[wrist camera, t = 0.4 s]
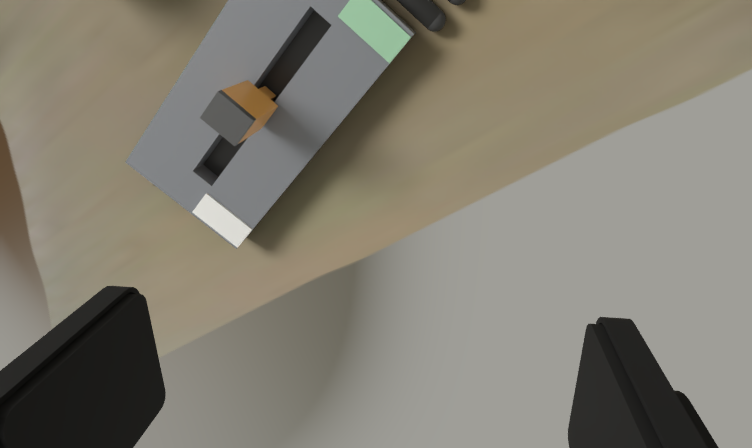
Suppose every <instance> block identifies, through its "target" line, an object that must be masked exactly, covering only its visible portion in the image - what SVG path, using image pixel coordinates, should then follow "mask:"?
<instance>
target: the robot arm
mask: <svg viewBox="0 0 752 448" xmlns="http://www.w3.org/2000/svg"><path fill="white" fill-rule="evenodd" d="M164 401H165V387H164V382H163V378H162V373H161V368H160V363H159V358H158V354H157V349H156V344H155V339H154V335H153V330H152V325H151V320H150V316H149V311H148V306H147V301H146V298H145V297H144V296H143V295H141V294H140V293H139V291H138V290H137V289H136V288H134V287H120V286H107V287H105V288H103V289H102V290H101V291H100V292H98V293H97V294H96V295H95V296H93V297H92V298H91V299H90V300H88V301H87V302H86V303H85V304H83V305H82V306H81V307H80V308H78V309H77V310H76V311H75V312H73V313H72V314H71V315H70V316H68V317H67V318H66V319H65V320H63V321H62V322H61V323H60V324H58V325H57V326H56V327H55V328H53V329H52V330H51V331H50V332H48V333H47V334H46V335H45V336H43V337H42V338H41V339H40V340H38V341H37V342H36V343H35V344H33V345H32V346H31V347H30V348H28V349H27V350H26V351H25V352H23V353H22V354H21V355H20V356H18V357H17V358H16V359H15V360H13V361H12V362H11V363H10V364H8V365H7V366H6V367H5V368H3V369H2V370H1V371H0V448H133V447H134V446H135V444H136V443H137V442H138V440H139V439H140V437H141V436H142V435H143V433H144V432H145V431H146V429H147V428H148V426H149V425H150V424H151V422H152V421H153V420H154V418H155V417H156V415H157V414H158V413H159V411H160V410H161V408H162V407H163V404H164ZM568 441H569V447H570V448H718V446H717V444H716V443H715V442H714V440H713V438H712V436H711V435H710V433H709V432H708V430H707V428H706V427H705V425H704V423H703V422H702V420H701V418H700V417H699V415H698V414H697V412H696V410H695V409H694V407H693V405H692V404H691V402H690V401H689V399H688V398H687V397H686V396H685V395H684V394H683V393H682V392H680V391H674V390H673V388H672V387H671V385H670V383H669V381H668V380H667V378H666V377H665V375H664V373H663V372H662V370H661V368H660V366H659V364H658V363H657V361H656V359H655V358H654V356H653V354H652V353H651V351H650V349H649V348H648V346H647V344H646V342H645V341H644V339H643V338H642V336H641V334H640V332H639V331H638V329H637V327H636V325H635V324H634V322H633V321H632V320H631V319H623V318H606V317H600V318H598V320H597V322H596V324H588V325H587V328H586V332H585V338H584V343H583V349H582V355H581V360H580V366H579V371H578V377H577V383H576V388H575V394H574V400H573V405H572V411H571V416H570V422H569V428H568Z"/></svg>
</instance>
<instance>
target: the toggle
mask: <svg viewBox="0 0 752 448" xmlns="http://www.w3.org/2000/svg"><path fill="white" fill-rule="evenodd" d="M275 97H276V95H275V94H274V93H273V92H272V91H270V90H269V89H268V88H267V87H266V86H264V87H261V88H259V89H258V88H257V87H255V86H254V85H253V84H252V83H251V82H250V81H248V80H247V81H244V82H241V83H239V84H236V85H233V86H230V87H228V88H225V89H222V90H220V91H218V92H217V93H216V95H215V96H214V98H213V99H212V100H211V102H210V103H209V105H208V106H207V108H206V109H205V111H204V112H203V114H202V115H201V117H200V119H202V120H203V121H204V122H205V123H207V124H208V125H209V126H210V127H211V128H213V129H214V130H215V131H216V132H218V133H219V134H220V135H221V136H222V137H224V138H225V139H226V140H227V141H228V142H230V143H231V144H232V145H233V146H236V145H237V144H239V143H241V142H242V141H244V140H245V139H247V138H248V137H250V136H251V135H253V134H254V133H256V132H257V131H259V130H260V129H262V127H263V126H264V125H265V123H266V122H267V121H268V119H269V118H270V117H271V115H272V114H273V113H274V111H275V110H276V109H277V107H278V105H277V104H275V103H274V102H273V100H274V99H275Z"/></svg>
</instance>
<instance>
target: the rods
mask: <svg viewBox="0 0 752 448" xmlns="http://www.w3.org/2000/svg"><path fill="white" fill-rule="evenodd" d="M397 1H398V2H399V3H401V4H402V5H403V6H404V7H405V8H406V9H407V10H408V11H409V12H410V13H411V14H412V15H413V16H414V17H415V18H417V19H418V20H419V21H420V22H421V23H422V24H423V25H424V26H425V27H426V28H427V29H428V30H430V31H439V30H440V29H442V28H443V26H444V25H445V21H446V18H445V14H444V13H443V12H442V10H440V9H439V8H438V7H437V6H436V5H435V4H434V3H433V2H432V1H431V0H397ZM448 1H449V2H450V3H452V4H454V5H460V4H462V3H464V2H465V1H466V0H448Z"/></svg>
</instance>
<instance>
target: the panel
mask: <svg viewBox="0 0 752 448" xmlns="http://www.w3.org/2000/svg"><path fill="white" fill-rule="evenodd" d="M415 33H416V32H415V31H414V30H413V29H412V28H411V27H410V26H409V25H408V24H407V23H405V22H404V21H403V20H402V19H401V18H400V17H399V16H398V15H397V14H396V13H395V12H394V11H393V10H392V9H390V8H389V7H388V6H387V5H386V4H385V3H384V2H383V1H382V0H228V1H227V3H226V5H225V6H224V8H223V9H222V11H221V12H220V14H219V16H218V17H217V19H216V20H215V22H214V23H213V25H212V27H211V28H210V30H209V31H208V33H207V34H206V36H205V38H204V39H203V41H202V42H201V44H200V45H199V47H198V49H197V50H196V52H195V53H194V55H193V56H192V58H191V60H190V61H189V63H188V64H187V66H186V68H185V69H184V71H183V72H182V74H181V75H180V77H179V79H178V80H177V82H176V83H175V85H174V86H173V88H172V90H171V91H170V93H169V94H168V96H167V97H166V99H165V101H164V102H163V104H162V105H161V107H160V108H159V110H158V112H157V113H156V115H155V116H154V118H153V119H152V121H151V123H150V124H149V126H148V127H147V129H146V130H145V132H144V134H143V135H142V137H141V138H140V140H139V141H138V143H137V145H136V146H135V148H134V149H133V151H132V153H131V154H130V156H129V157H128V159H127V160H126V163H127V164H128V165H130V166H131V167H132V168H133V169H135V170H136V171H137V172H138V173H140V174H141V175H142V176H144V177H145V178H146V179H147V180H149V181H150V182H151V183H153V184H154V185H155V186H156V187H158V188H159V189H160V190H162V191H163V192H164V193H165V194H167V195H168V196H169V197H171V198H172V199H173V200H174V201H176V202H177V203H178V204H180V205H181V206H182V207H183V208H185V209H186V210H187V211H189V212H190V213H191V214H192V215H194V216H195V217H196V218H197V219H199V220H200V221H201V222H203V223H204V224H205V225H206V226H208V227H209V228H210V229H212V230H213V231H214V232H215V233H217V234H218V235H219V236H221V237H222V238H223V239H224V240H226V241H227V242H228V243H230V244H231V245H232V246H233V247H235V248H236V249H237V248H238V247H239V245H240V244H241V243H242V242H243V241H244V240H245V239H246V237H247V236H248V235H249V234H250V233H251V231H252V230H253V229H254V228H255V226H256V225H257V224H258V223H259V222H260V220H261V219H262V218H263V217H264V216H265V214H266V213H267V212H268V211H269V210H270V208H271V207H272V206H273V205H274V204H275V202H276V201H277V200H278V199H279V197H280V196H281V195H282V194H283V193H284V191H285V190H286V189H287V188H288V187H289V185H290V184H291V183H292V182H293V181H294V179H295V178H296V177H297V176H298V174H299V173H300V172H301V171H302V170H303V168H304V167H305V166H306V165H307V164H308V162H309V161H310V160H311V159H312V158H313V156H314V155H315V154H316V153H317V151H318V150H319V149H320V148H321V147H322V145H323V144H324V143H325V142H326V141H327V139H328V138H329V137H330V136H331V135H332V133H333V132H334V131H335V130H336V128H337V127H338V126H339V125H340V124H341V122H342V121H343V120H344V119H345V118H346V116H347V115H348V114H349V113H350V112H351V110H352V109H353V108H354V107H355V106H356V104H357V103H358V102H359V101H360V99H361V98H362V97H363V96H364V95H365V93H366V92H367V91H368V90H369V89H370V87H371V86H372V85H373V84H374V83H375V81H376V80H377V79H378V78H379V76H380V75H381V74H382V73H383V72H384V70H385V69H386V68H387V67H388V66H389V64H390V63H391V62H392V61H393V60H394V58H395V57H396V56H397V55H398V53H399V52H400V51H401V50H402V49H403V47H404V46H405V45H406V44H407V43H408V41H409V40H410V39H411V38H412V37H413V35H414V34H415ZM247 80H248V81H250V82H251V83H252V84H253V85H254V86H255V87H257V88H258V89H259V88H261V87H264V86H266V87H267V88H268V89H269V90H270V91H272V92H273V93H274V94H275V95H276V97H275V99H274V100H273V102H274V103H275V104H277V105H278V107H277V109H276V110H275V111H274V113H273V114H272V115H271V117H270V118H269V119H268V121H267V122H266V123H265V125H264V126H263V127H262V129H260V130H259V131H257V132H256V133H254V134H253V135H251V136H250V137H248V138H247V139H245V140H244V141H242V142H241V143H239V144H237V145H236V146H233V145H232V144H231V143H230V142H228V141H227V140H226V139H225V138H224V137H222V136H221V135H220V134H219V133H218V132H216V131H215V130H214V129H213V128H211V127H210V126H209V125H208V124H207V123H205V122H204V121H203V120H202V119H200V117H201V115H202V114H203V112H204V111H205V109H206V108H207V106H208V105H209V103H210V102H211V100H212V99H213V98H214V96H215V95H216V93H217V92H218V91H220V90H222V89H225V88H228V87H230V86H233V85H236V84H239V83H241V82H244V81H247Z"/></svg>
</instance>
